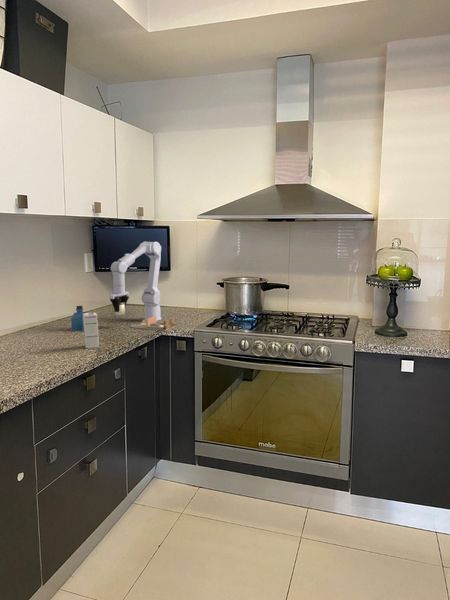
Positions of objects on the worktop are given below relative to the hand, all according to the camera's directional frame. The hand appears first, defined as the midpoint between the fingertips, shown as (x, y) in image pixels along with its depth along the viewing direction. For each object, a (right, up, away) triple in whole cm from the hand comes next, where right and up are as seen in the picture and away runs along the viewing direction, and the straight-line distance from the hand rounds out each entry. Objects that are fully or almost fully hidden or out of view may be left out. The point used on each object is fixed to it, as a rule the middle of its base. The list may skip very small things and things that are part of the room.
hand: (119, 310), depth 237 cm
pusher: (+17, -9, +2) cm, 20 cm away
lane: (+17, -9, +2) cm, 20 cm away
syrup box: (-3, -15, -39) cm, 41 cm away
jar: (0, -2, 0) cm, 2 cm away
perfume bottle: (-19, -10, -4) cm, 22 cm away
